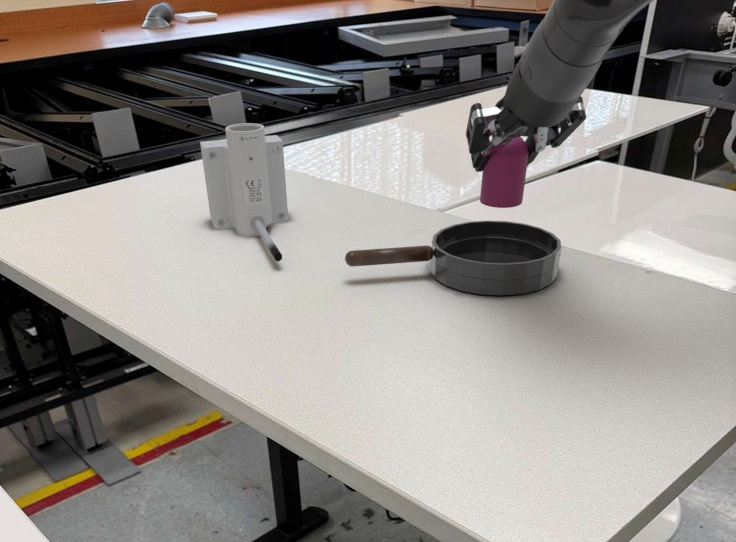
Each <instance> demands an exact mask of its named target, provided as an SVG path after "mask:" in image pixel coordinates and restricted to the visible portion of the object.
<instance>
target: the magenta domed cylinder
mask: <svg viewBox="0 0 736 542" xmlns="http://www.w3.org/2000/svg"><path fill="white" fill-rule="evenodd" d="M503 134H504V133H503ZM525 141H526V140H524V139H523V137H522V136H520V137H515V138H514V139H513V140H512V141H510V142H509V143H508V144H507V145H506V146H505V147H503V148H501V147H498V148H497V149H496V150H495V151H493V152H492V153H491V157H490V158H489V160H488V162H487V164H486V165H485V167H484V169H483V171H482V174H481V184H480V195H479V196H480V197H479V202H480V204H482V205H484V206H487V207H491V208H497V209H510V208H515V207H519V206H520V205H522V204H523V199H524V193H525V184H526V178H527V169H528V167H527V163H528V155H529V151H528V148H527V145H526V143H525ZM490 142H491V140H490Z"/></svg>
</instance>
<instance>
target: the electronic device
mask: <svg viewBox="0 0 736 542" xmlns="http://www.w3.org/2000/svg"><path fill="white" fill-rule="evenodd" d="M225 137H226V138H223V139H216V140H215V139H214V140H204V141H203V140H202V141H199V145H200V151H201V159H202V165H203V173H204V174H203V175H204V180H205V187H206V194H207V195H206V196H207V202H208V209H209V215H210V222H211V225H212V227H213V228H214V230H223V229H230V228H233V229H235V231H236V232H237V233H238V235H241V236H243V237H261V239H262V241H263V242H264V245H266V247H267V249H268V250H269V253H270V254H271V256H272V257H273V259H274V260H275V262H280V261H281V260H283V254H282V253H281V251H280V249H279V247H277V245H276V243H275V241H274V240H273V239H272V237H271V236H270V234H269V232H268V231H267V228H272V227H273V226H272V224H273V223H274V224H277V223H282V222H289V209H288V196H287V182H286V181H287V180H286V168H285V154H284V153H285V152H284V141H283V140H282V138H281V137H279V136H278V134H273V135H266V133H265V125H263V124H261V123H255V122H254V123H252V122H246V123H235V124H230V125H228V126H226V127H225Z"/></svg>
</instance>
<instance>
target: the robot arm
mask: <svg viewBox="0 0 736 542" xmlns="http://www.w3.org/2000/svg"><path fill="white" fill-rule="evenodd" d="M653 1H654V0H553V1H552V2H551V5H550V6H549V8H548V9H547V12H546V14H545V16H544V17H543V19H542V20H541V21H540V23H539V24H538V25H537V26H536V28H535V30H534V32H533V33H532V35H531V37H530V39H529V41H528V43H527V44H526V47H525V49H524V51H523V52H522V54H521V56H520V58H519V60H518V62H517V64H516V66H515V68H514V69H513V72H512V74H511V76H510V78H509V80H508V83H507V86H506V89H505V93H504V96H503V97H502V98H501V99H499V100H498V101H497V102H496V103H495V105H494V106H492V107H487V108H483V107H482V103H481V102H475V103H474V104H472V105H471V107H470V110H469V115H468V120H467V125H466V130H465V136H466V140H467V145H468V153H469V154H470V158H471V159H470V160H471V165H472V168H473V169H474V170H475V173H479V172H483V169H484V167H485V165H486V164H487V162H488V160H489V158H490V157H491V153H492V152H493V151H495V150H496V149H497V148H498V147H501V148H503V147H505V146H506V145H507V144H508V143H509V142H510V141H512V140H513V139H514V138H515V137H525V138H526V137H527V138H526V139H525V140H524V141H525V143H526V145H527V148H528V151H529V155H528V163H527V168H528V167H529V165H530V164H532V163H533V162H534V161H535V159H536V158H537V157H538V155H539V154H540V153H541V152H543V151H545V150H546V147H548V146H551V148H552V149H555V148H558V147H560V146H561V145H562V144H563V143H564V142H565V141H566V140H567V139H568V138H569V137H570V136H571V135H572V134H573V133H574V132H575V131H576V130H577V129H578V128H579V127H580V126H581V125H582V124H583V123H584V122H585V121H586V120H587V114H586V109H585V105H584V100H583V96H582V94H583V93H584V92H585V90H586V89H587V87H588V86H589V84H590V83H591V81H592V80H593V79H594V77H595V75H596V74H597V72H598V71H599V68H600V67H601V65H602V62H603V60H604V58H605V56H606V55H607V53H608V52H609V50H610V49H611V48H612V46H613V44H614V43H615V41H616V40H617V39H618V37H619V35H620V34H621V32H622V31H623V30H624V28H625V27H626V26H627V25H628V23H629V22H631V20H632V19H634V17H635V16H637V15H638V14H639V13H640V12H641V11H642V10H643V9H644V8H646V7H647V6H648V5H649V4H651V2H653ZM503 133H504V134H503ZM490 137H491V140H490ZM490 141H491V142H490Z"/></svg>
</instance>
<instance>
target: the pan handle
mask: <svg viewBox="0 0 736 542" xmlns="http://www.w3.org/2000/svg"><path fill="white" fill-rule="evenodd" d="M433 256H434V250H433V249H432V246H430V245H413V246H397V247H387V248H385V247H384V248H371V249H357V250H356V249H355V250H350V251H347V253H346V254H345V256H344V261H345V264H346V265H348V267H351V268H353V267H367V266H369V267H370V266H381V265H393V264H394V265H395V264H408V263H422V262H423V263H424V262H429V261H430V262H431V259H432V258H433Z"/></svg>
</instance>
